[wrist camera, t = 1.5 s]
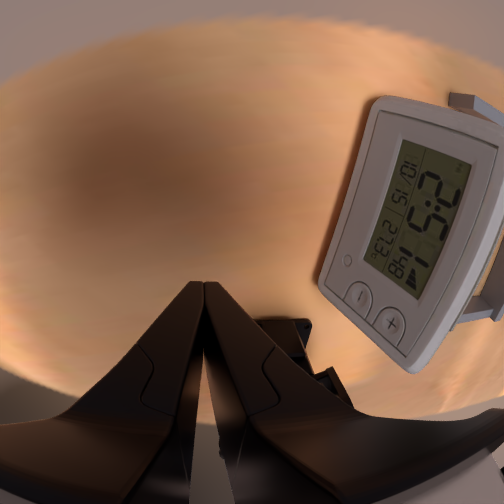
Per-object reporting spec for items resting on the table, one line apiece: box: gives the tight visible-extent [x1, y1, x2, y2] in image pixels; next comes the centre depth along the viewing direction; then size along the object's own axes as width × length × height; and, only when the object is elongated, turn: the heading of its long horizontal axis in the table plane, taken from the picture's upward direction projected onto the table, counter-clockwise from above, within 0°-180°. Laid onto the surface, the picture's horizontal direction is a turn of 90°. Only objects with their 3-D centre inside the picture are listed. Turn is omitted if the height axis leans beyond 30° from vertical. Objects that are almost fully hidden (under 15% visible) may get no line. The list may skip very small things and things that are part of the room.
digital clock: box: [318, 96, 504, 374], centre depth 17 cm, size 16×9×11 cm, turn 156°
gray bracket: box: [449, 93, 504, 324], centre depth 22 cm, size 21×18×5 cm
